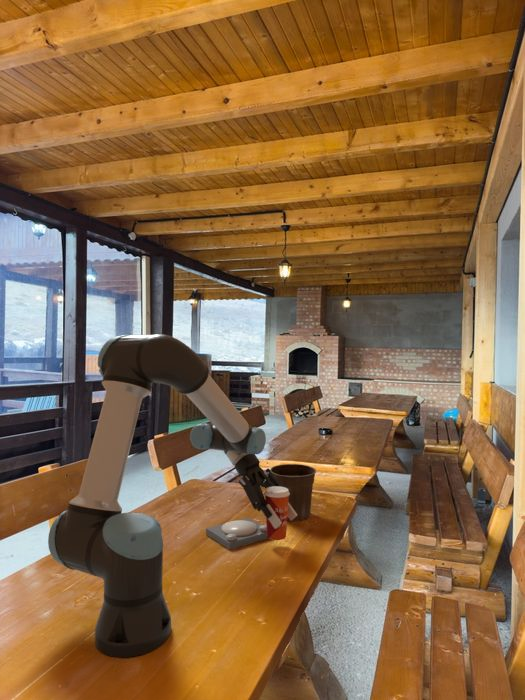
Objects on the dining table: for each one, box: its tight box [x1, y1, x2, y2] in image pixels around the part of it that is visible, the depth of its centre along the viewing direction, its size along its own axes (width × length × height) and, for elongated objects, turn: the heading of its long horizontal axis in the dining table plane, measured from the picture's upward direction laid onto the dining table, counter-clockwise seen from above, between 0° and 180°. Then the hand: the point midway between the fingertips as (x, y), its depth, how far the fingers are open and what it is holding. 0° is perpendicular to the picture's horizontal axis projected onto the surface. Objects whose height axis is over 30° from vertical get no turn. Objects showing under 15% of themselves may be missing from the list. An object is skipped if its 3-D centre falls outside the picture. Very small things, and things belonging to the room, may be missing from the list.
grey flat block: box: [205, 517, 269, 551], centre depth 147 cm, size 16×14×3 cm
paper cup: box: [263, 486, 290, 541], centre depth 140 cm, size 8×8×14 cm
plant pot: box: [269, 463, 317, 522], centre depth 165 cm, size 16×16×16 cm
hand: (286, 521), depth 138 cm, fingers closed on paper cup, 8 cm apart
